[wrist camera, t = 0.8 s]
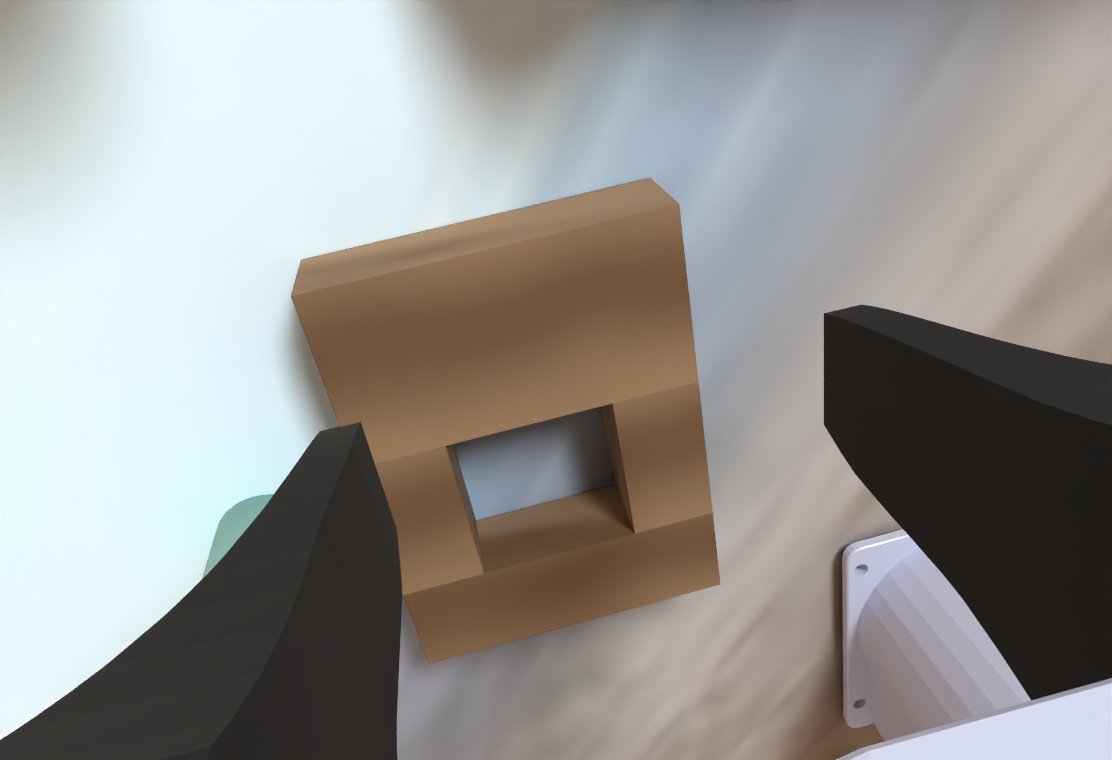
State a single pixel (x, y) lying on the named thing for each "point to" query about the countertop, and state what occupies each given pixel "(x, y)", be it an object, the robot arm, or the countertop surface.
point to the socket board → (524, 406)
